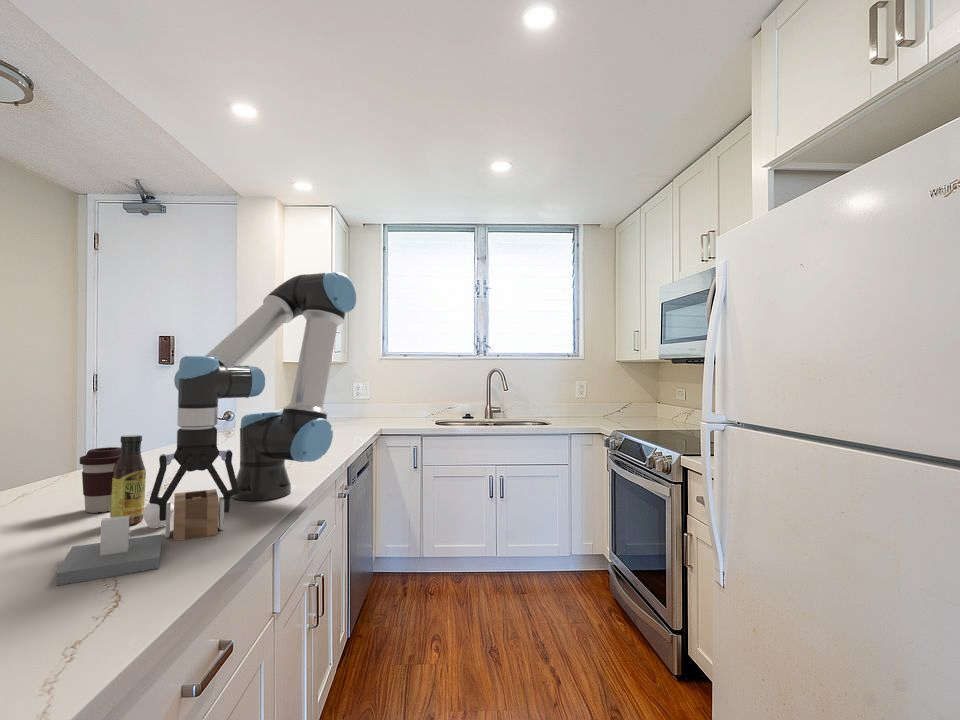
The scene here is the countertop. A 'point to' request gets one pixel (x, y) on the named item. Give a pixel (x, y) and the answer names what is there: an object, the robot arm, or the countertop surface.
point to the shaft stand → (111, 554)
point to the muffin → (154, 514)
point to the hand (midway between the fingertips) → (195, 531)
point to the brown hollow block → (195, 514)
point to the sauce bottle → (129, 481)
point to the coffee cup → (98, 478)
